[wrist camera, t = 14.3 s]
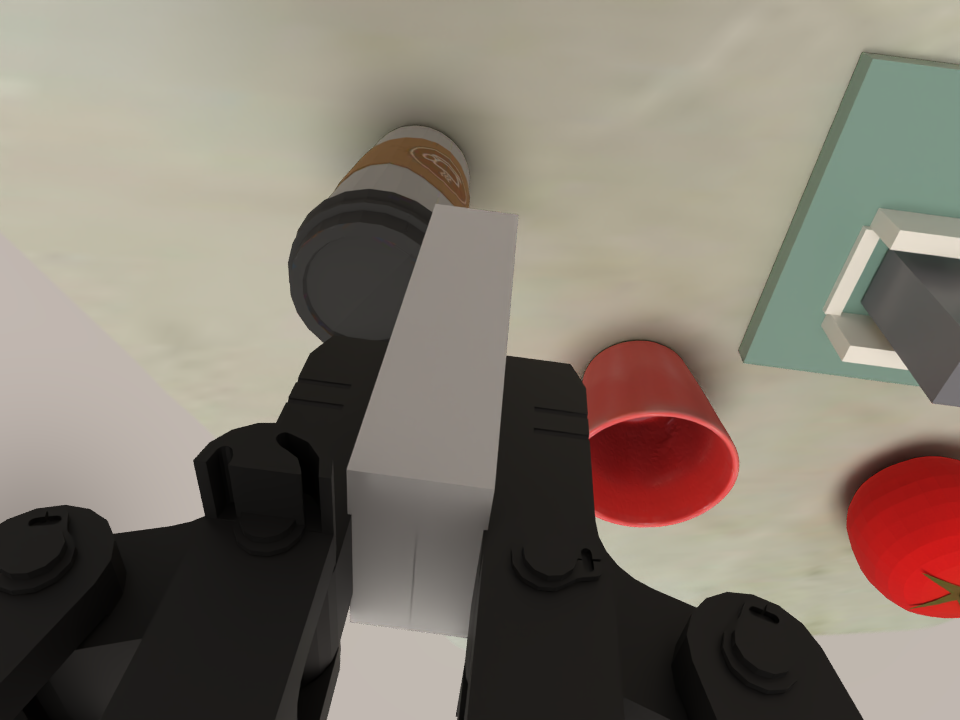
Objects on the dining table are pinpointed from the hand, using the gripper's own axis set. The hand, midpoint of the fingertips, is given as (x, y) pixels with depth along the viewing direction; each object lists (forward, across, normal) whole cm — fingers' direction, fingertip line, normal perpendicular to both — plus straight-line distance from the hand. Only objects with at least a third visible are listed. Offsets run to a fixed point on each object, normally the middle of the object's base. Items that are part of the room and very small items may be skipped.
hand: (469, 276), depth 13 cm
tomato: (+30, +36, -31) cm, 56 cm away
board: (+29, +26, -10) cm, 41 cm away
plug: (+28, +26, -12) cm, 40 cm away
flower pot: (+30, +12, -24) cm, 40 cm away
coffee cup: (+30, -5, -10) cm, 32 cm away
